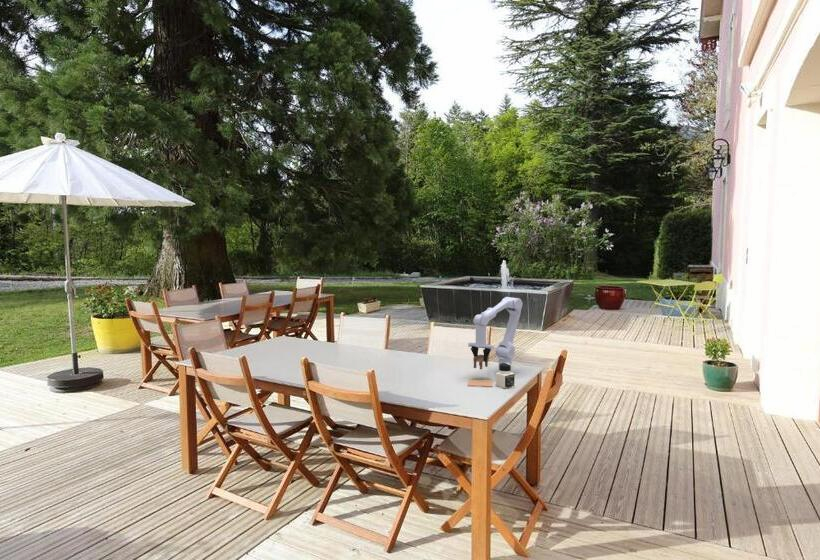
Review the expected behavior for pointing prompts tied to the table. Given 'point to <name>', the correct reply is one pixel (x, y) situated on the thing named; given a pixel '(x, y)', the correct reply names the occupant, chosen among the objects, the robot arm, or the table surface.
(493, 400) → the table surface
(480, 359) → the brown slotted block
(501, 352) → the robot arm
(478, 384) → the terracotta tile
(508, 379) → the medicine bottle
